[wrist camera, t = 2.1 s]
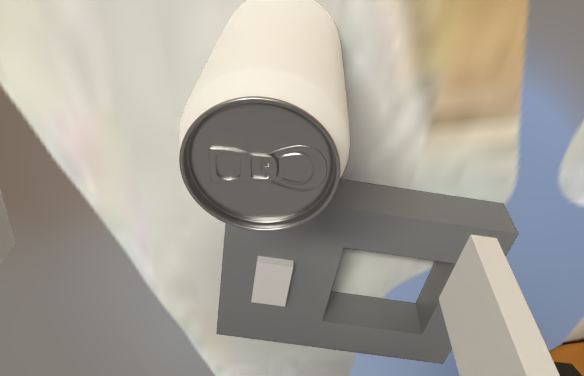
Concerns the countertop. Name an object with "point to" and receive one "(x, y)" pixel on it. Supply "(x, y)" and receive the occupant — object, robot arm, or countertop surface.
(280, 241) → the socket plate
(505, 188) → the countertop surface
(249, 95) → the can
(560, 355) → the coffee package
